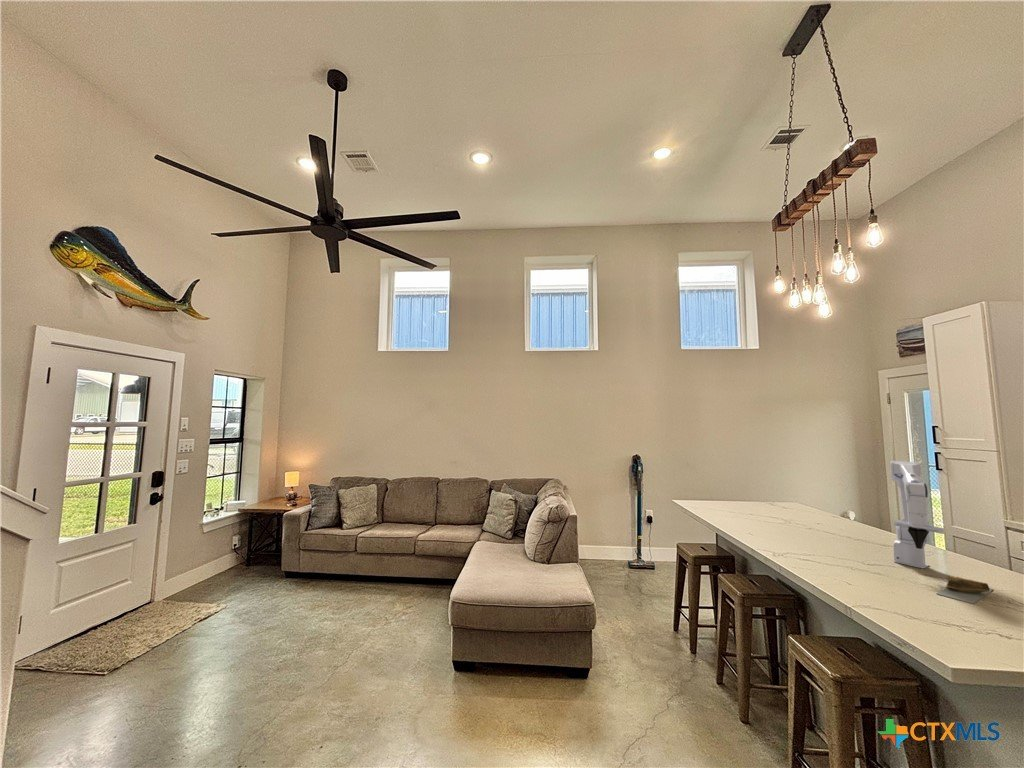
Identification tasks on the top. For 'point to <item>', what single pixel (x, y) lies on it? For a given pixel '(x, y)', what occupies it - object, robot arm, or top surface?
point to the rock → (967, 585)
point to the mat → (963, 595)
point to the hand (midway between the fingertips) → (919, 548)
